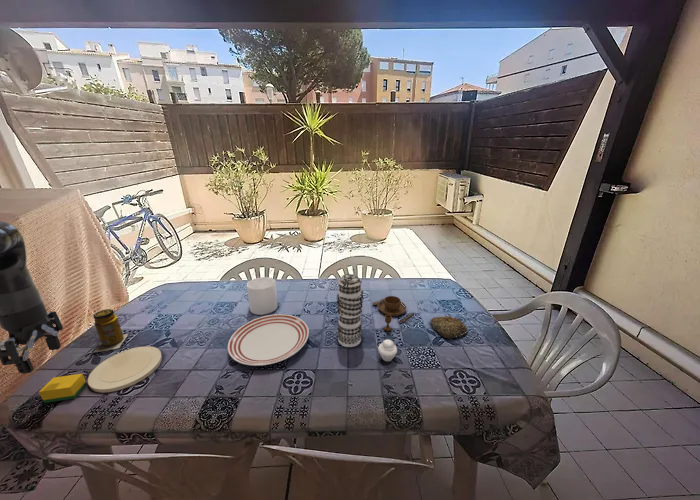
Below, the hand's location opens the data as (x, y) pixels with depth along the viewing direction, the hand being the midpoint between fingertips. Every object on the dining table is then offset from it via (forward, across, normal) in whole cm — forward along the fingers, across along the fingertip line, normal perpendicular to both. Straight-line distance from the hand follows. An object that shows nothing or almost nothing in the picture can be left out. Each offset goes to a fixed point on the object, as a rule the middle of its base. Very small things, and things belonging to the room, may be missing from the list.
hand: (42, 360), depth 70 cm
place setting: (+11, -21, +102) cm, 105 cm away
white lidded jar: (+12, +4, +94) cm, 94 cm away
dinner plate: (+12, -12, +55) cm, 58 cm away
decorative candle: (+12, -8, +83) cm, 85 cm away
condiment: (+13, -24, 0) cm, 27 cm away
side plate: (+13, -9, +12) cm, 20 cm away
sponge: (+13, -2, +1) cm, 13 cm away
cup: (+12, -37, +51) cm, 64 cm away
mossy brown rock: (+11, -6, +122) cm, 123 cm away
